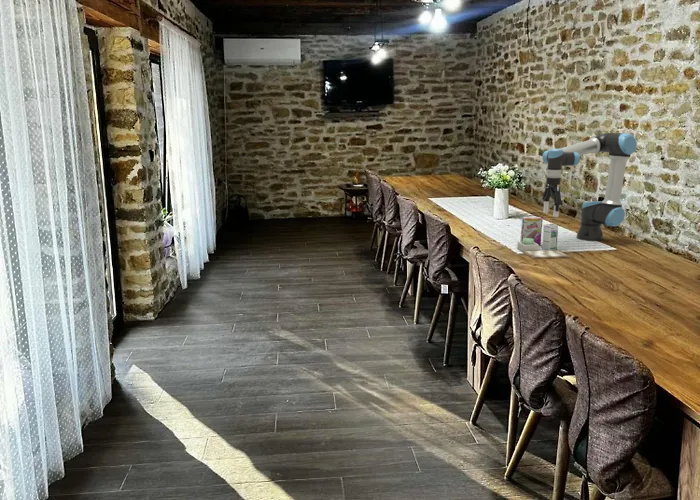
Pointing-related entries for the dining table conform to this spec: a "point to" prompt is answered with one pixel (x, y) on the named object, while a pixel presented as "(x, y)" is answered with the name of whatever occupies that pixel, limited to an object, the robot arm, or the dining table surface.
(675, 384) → the dining table surface
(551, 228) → the syrup box
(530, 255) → the drawing board
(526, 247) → the button housing
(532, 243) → the button
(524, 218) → the candy bar box
